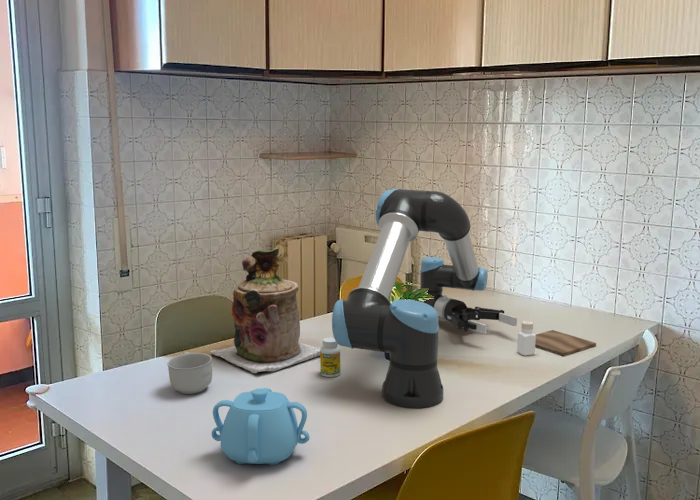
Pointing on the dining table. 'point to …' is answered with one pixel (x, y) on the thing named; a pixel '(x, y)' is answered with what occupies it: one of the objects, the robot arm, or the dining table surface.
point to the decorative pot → (259, 427)
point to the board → (561, 343)
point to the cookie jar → (266, 319)
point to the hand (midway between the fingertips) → (501, 325)
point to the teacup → (190, 372)
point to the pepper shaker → (526, 339)
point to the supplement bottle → (330, 358)
